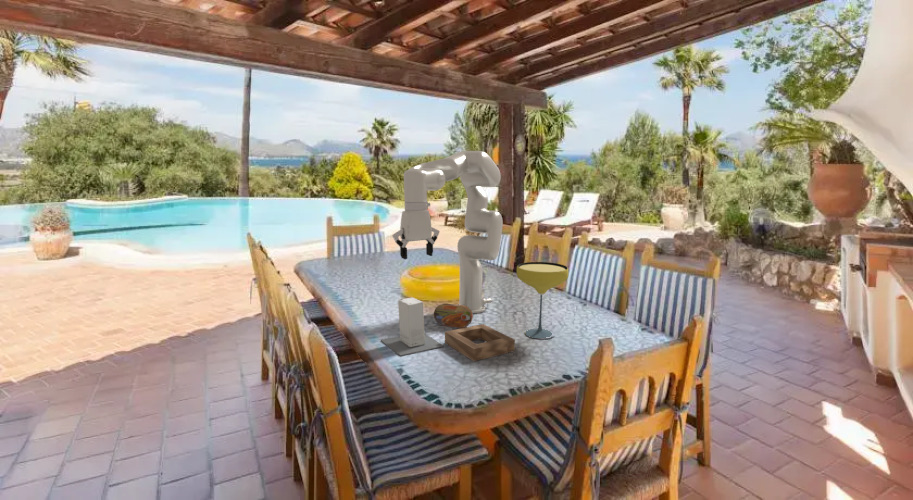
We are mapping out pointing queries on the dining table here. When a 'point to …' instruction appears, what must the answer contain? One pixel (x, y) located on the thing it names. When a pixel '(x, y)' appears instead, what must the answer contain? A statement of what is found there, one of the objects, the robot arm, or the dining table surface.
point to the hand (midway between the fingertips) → (417, 256)
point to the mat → (406, 350)
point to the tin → (453, 315)
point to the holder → (490, 348)
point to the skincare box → (411, 322)
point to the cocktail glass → (541, 284)
